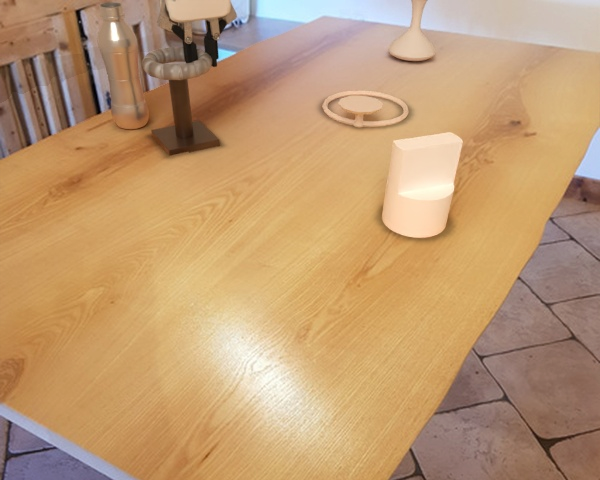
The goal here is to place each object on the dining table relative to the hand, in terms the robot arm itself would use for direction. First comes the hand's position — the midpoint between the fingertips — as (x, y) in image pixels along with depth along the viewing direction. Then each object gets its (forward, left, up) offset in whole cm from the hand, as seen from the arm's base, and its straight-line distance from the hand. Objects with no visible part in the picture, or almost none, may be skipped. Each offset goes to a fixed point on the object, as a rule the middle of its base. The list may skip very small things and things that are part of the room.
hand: (202, 65), depth 89 cm
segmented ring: (-4, 0, +1) cm, 4 cm away
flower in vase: (+62, +19, -13) cm, 66 cm away
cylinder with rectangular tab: (+15, -39, -13) cm, 44 cm away
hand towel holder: (+31, -4, -13) cm, 33 cm away
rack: (-4, 0, -12) cm, 13 cm away
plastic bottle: (-10, +11, -13) cm, 20 cm away
